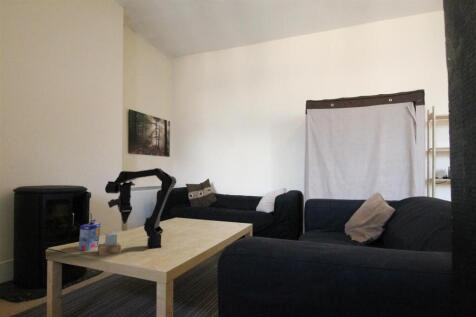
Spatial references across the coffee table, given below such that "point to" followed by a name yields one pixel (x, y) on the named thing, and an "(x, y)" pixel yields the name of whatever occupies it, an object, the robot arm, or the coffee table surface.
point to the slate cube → (111, 239)
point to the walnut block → (109, 249)
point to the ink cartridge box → (89, 235)
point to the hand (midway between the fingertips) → (123, 222)
